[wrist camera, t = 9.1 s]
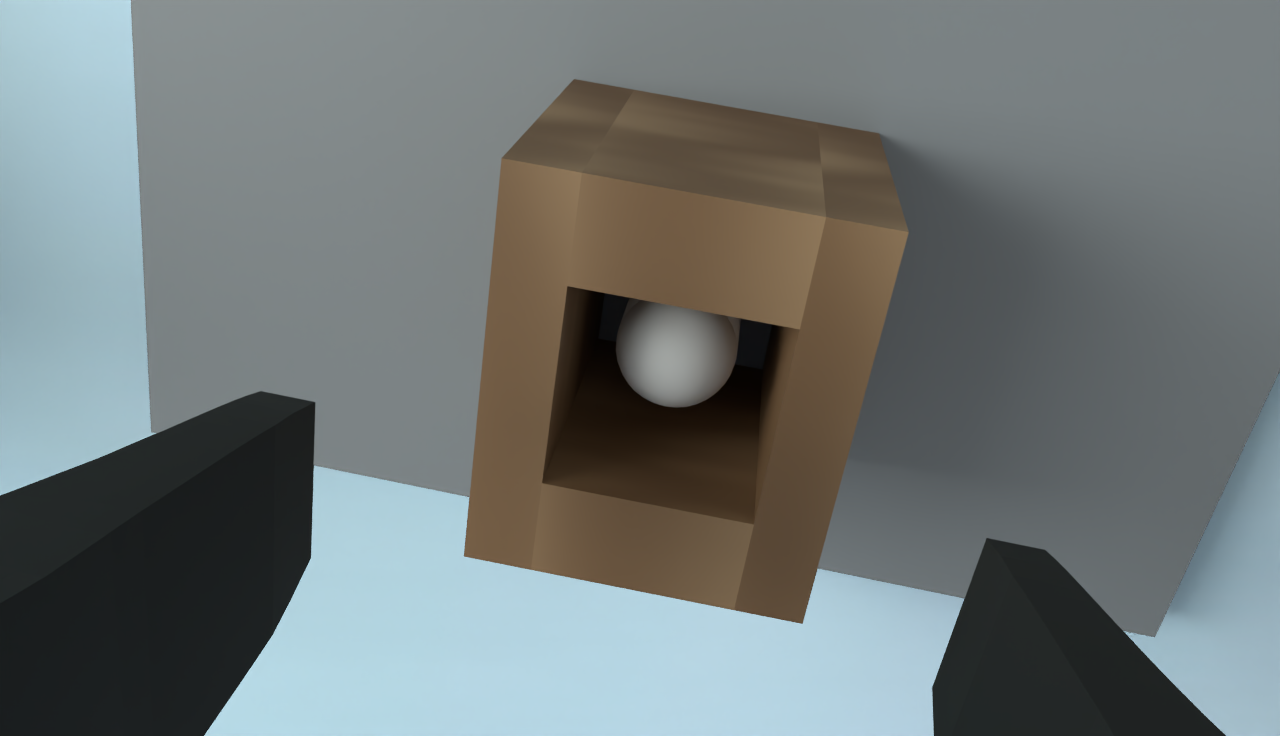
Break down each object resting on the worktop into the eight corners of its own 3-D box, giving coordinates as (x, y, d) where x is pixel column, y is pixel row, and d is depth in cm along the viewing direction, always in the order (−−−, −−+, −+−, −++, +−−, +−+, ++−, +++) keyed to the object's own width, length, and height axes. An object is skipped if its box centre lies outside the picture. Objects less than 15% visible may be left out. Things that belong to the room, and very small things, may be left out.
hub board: (1488, -164, 16) (1765, -167, 11) (1140, 604, 22) (1228, 799, 18) (148, -394, 17) (-89, -482, 12) (176, 409, 23) (26, 547, 18)
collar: (879, 132, 18) (908, 231, 13) (799, 451, 20) (802, 623, 16) (574, 79, 18) (501, 158, 13) (535, 400, 21) (463, 556, 16)
